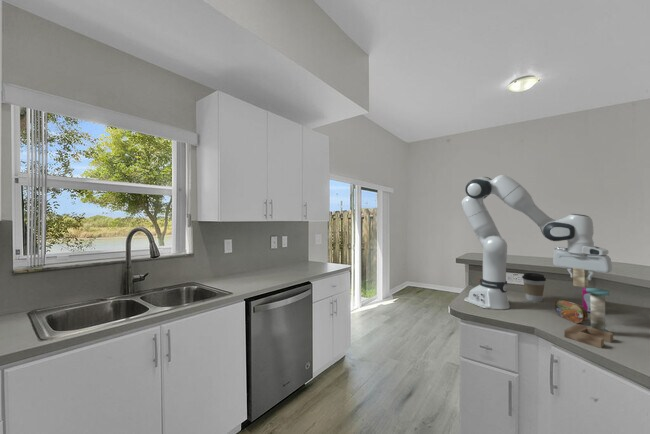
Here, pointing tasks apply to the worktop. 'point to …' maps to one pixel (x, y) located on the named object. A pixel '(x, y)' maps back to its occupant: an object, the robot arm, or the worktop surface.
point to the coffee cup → (534, 286)
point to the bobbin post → (597, 307)
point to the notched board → (588, 335)
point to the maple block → (580, 277)
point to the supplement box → (586, 300)
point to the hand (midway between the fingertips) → (580, 279)
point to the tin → (571, 311)
